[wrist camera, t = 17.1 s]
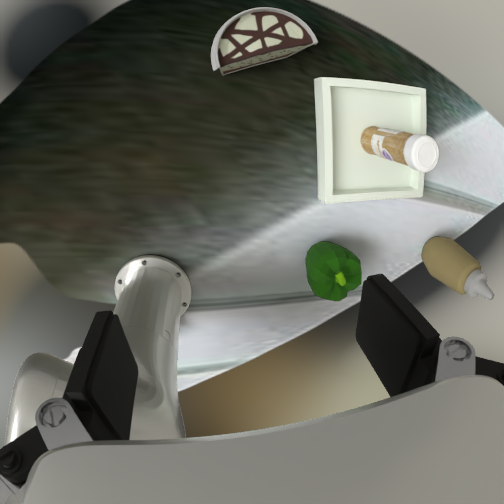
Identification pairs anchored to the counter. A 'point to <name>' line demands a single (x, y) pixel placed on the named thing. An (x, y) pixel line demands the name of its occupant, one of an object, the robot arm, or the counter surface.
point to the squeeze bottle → (455, 267)
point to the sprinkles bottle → (401, 147)
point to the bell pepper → (332, 271)
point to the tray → (349, 135)
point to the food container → (259, 39)
